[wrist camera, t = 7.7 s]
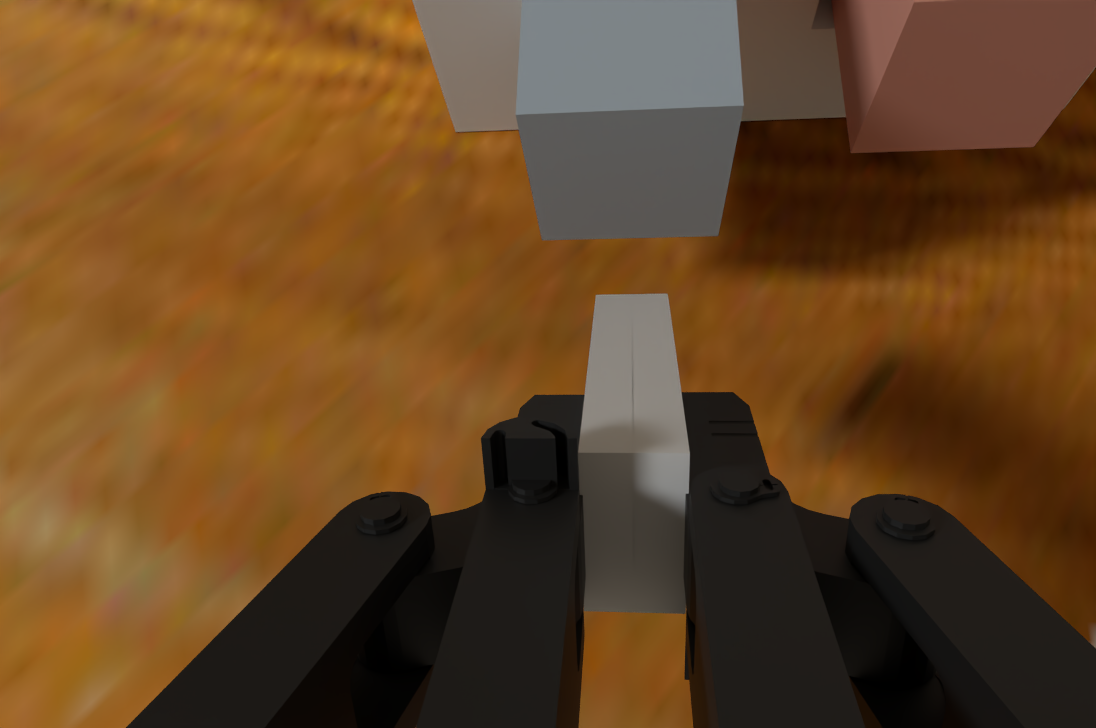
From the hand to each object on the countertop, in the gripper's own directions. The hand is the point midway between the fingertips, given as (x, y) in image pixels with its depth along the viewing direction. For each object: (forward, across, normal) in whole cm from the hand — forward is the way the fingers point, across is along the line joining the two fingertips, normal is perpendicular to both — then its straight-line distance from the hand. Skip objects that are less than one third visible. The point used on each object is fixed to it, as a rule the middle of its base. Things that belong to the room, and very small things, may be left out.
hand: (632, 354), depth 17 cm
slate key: (+10, 0, +7) cm, 12 cm away
